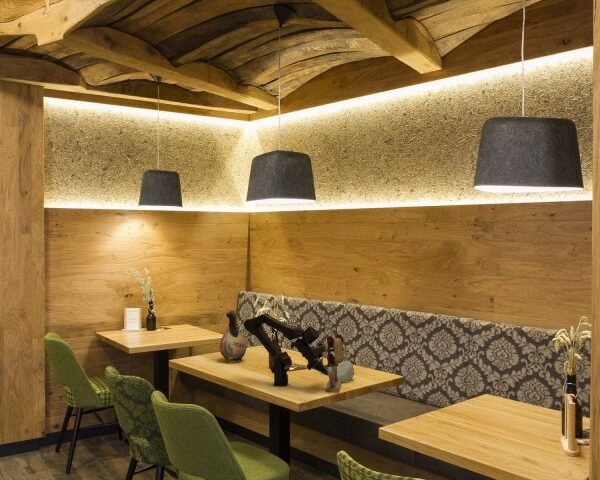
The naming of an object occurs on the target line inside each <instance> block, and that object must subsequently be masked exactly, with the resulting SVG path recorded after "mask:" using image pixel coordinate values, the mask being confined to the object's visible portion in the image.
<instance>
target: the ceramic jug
mask: <svg viewBox="0 0 600 480" xmlns="http://www.w3.org/2000/svg"><path fill="white" fill-rule="evenodd" d="M226 318H228V326H227V328H226V330H225V332H224V333H223V334H222V337H221V339H220V342H219V353H220V355H221V356H222V357H223V359H224V360H225V362H226V363H233V364H234V363H238V362H241V361H242V360H243V357H244V356H245V354H246V351H247V344H246V343H247V342H246V341H245V340H246V339H245V337H244V335H243V334H242V332H241V331H240V330H239V328H238V327H237V326H236V325H237V324H236V323H237V322H236V320H237V319H236V313H235V311H234V310H230V311H229V312H226Z"/></svg>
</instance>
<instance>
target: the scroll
mask: <svg viewBox="0 0 600 480" xmlns="http://www.w3.org/2000/svg"><path fill="white" fill-rule="evenodd" d="M326 343H327V346H326V348H327V351H326V353H327V356H326V360H327V362H326V364H324V366H325V368H327V367H331V368H332V367H333V366H338V365H339V364H340V363H341V362H343V361H344V353H343V352H344V351H343V350H344V344H343V343H344V338H343V336H342V335H341V334H337V335H336V336H335V338H334V337H333V336H332V335H330V336H328V337H327V338H326ZM331 352H334V354H333V353H331ZM326 370H327V369H326Z"/></svg>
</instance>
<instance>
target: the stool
mask: <svg viewBox="0 0 600 480" xmlns="http://www.w3.org/2000/svg"><path fill="white" fill-rule="evenodd" d="M340 387H342V383H341V381H337V366H333V367H332V371H331V372H330V380H329V379H328V382H327V384H326V386H325V393H326V392H337V393H336V394H339V393H340V391H339V390H341V388H340Z"/></svg>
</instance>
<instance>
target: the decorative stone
mask: <svg viewBox="0 0 600 480" xmlns="http://www.w3.org/2000/svg"><path fill="white" fill-rule="evenodd" d="M354 376H355V368H354V365H353V363H351V362H350V361H348V360H343V362H341V363H339V365H338V366H337V381H341V382H342V383H347V382H351V381H352V380H353V378H354ZM346 381H347V382H346Z"/></svg>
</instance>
